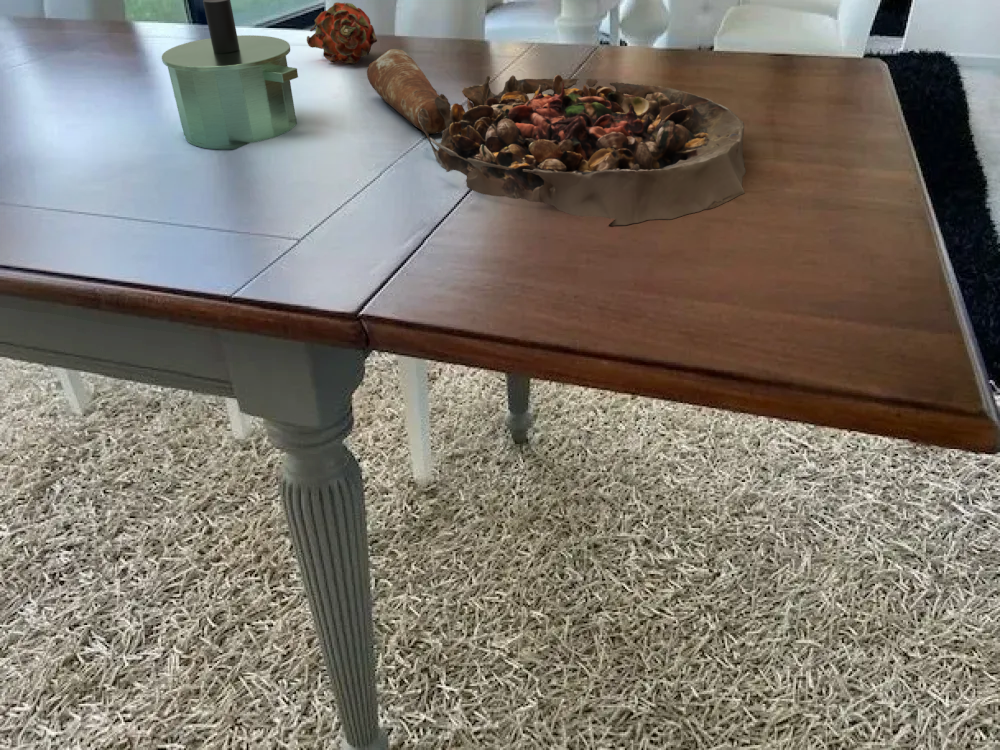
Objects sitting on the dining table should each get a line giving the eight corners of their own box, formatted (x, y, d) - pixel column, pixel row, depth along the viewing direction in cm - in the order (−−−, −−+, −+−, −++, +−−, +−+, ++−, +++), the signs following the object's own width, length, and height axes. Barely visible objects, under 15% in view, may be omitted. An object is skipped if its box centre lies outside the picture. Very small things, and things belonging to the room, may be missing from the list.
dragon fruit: (366, 82, 120) (327, 77, 129) (401, 35, 121) (360, 34, 130) (323, 36, 114) (286, 34, 123) (361, -12, 115) (321, -10, 124)
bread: (415, 90, 110) (412, 45, 107) (458, 136, 95) (456, 85, 92) (367, 96, 109) (363, 50, 106) (403, 143, 94) (399, 92, 91)
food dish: (387, 136, 99) (381, 66, 94) (640, 103, 108) (645, 39, 104) (493, 250, 71) (491, 158, 67) (821, 193, 80) (837, 109, 76)
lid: (228, 83, 87) (215, 18, 83) (136, 68, 93) (120, 6, 89) (316, 52, 96) (308, -8, 93) (228, 40, 102) (217, -17, 99)
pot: (261, 160, 91) (245, 79, 86) (145, 135, 98) (125, 59, 94) (337, 125, 99) (326, 50, 95) (225, 105, 107) (210, 34, 102)
